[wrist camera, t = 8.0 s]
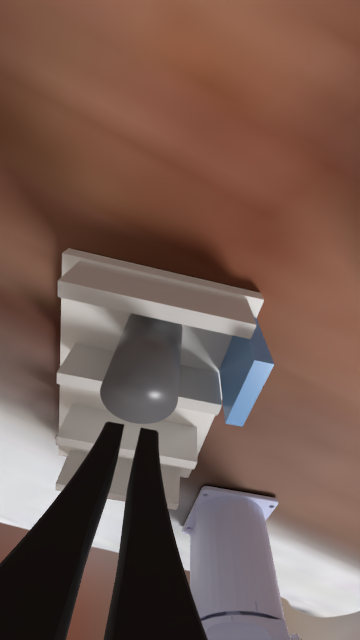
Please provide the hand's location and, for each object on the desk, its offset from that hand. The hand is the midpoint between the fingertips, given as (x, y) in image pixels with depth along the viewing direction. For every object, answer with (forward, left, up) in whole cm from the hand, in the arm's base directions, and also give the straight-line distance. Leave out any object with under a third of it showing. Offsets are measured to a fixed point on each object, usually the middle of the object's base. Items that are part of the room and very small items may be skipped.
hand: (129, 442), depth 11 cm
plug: (0, 0, -8) cm, 8 cm away
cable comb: (-6, 0, -9) cm, 11 cm away
